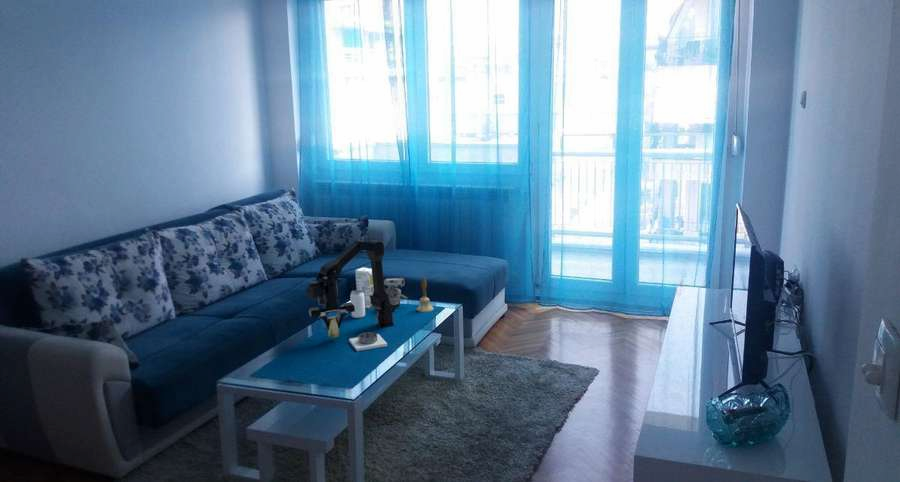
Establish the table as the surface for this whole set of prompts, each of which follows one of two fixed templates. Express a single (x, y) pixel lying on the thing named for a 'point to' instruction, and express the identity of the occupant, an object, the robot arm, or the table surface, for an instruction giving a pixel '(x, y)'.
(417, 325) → the table surface
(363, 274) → the juice carton
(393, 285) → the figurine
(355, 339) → the socket base
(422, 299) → the hand bell
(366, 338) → the socket collar
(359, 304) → the can
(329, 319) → the brass cylinder
